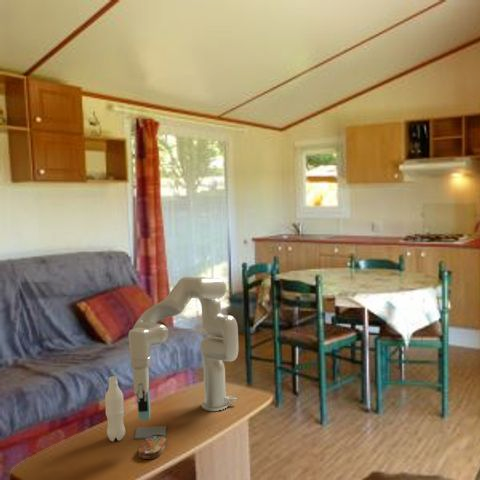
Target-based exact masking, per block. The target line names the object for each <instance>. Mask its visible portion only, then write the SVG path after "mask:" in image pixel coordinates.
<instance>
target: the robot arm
mask: <svg viewBox="0 0 480 480" xmlns="http://www.w3.org/2000/svg"><path fill="white" fill-rule="evenodd" d="M226 292H227V285H226V282H225V281H224V280H223V279H221V278H215V277H214V278H213V277H203V276H201V277H200V276H199V277H198V276H196V277H194V276H184V277H183V276H182V277H181V278H180V279H179V280H178V281H177V282H176V284H175V285H173V287H172V288H171V290H170V291H169V293H168V294H167V296H166V297H165V298H164V299H163V300H162V301H159V302H158V303H156V304H154V305H153V306H150V307H149V308H148V309H146V310H145V311H144V312H143V313H142V314H141V315H140V316H139V318H138V319H137V321H136V322H135V323H134V325H133V327H132V329H130V330H129V331H128V345H129V346H128V347H129V362H130V368H131V369H133V374H132V379H133V381H132V382H133V394H134V395H135V396H137V393H138V402H137V406H138V405H139V412H144V411H148V406H147V400H146V393H147V392H148V387H149V386H150V373H149V371H150V370H149V367H150V366H151V365H152V359H151V358H152V356H151V346H155V345H159V344H162V343H164V342H165V341H166V340H167V339H168V338H169V329H168V327H167V326H166V325H164V324H163V323H158V322H159V321H162V320H165V319H169V318H172V317H176V316H178V315H180V314H181V313H182V312H183V311H184V309H185V308H186V306H187V305H188V304H189V302H190V301H191V300H192V299H198V301H199V303H200V305H201V306H200V307H201V319H202V322H201V323H202V329H203V332H204V333H205V334H207V335H211V336H206V337H205V338H203V339H202V340H201V342H200V346H199V347H200V348H199V350H200V355H201V358H202V359H201V360H202V365H203V388H204V390H203V391H204V392H203V393H204V401H202V402H201V405H200V406H201V409H202V410H205V411H208V412H219V410H221V411H224V410H226V409H228V408H229V407H230V403H231V402H232V403H233V402H234V403H235V402H237V398H236V396H235V397H234V395H227V392H226V391H227V390H226V369H225V364H224V362H234V361H236V360H237V358H238V355H239V329H238V322H237V320H236V318H235V317H234V316H232V315H229V314H223V313H222V305H221V300H220V299H222V298H223V297H224V296H225V295H226ZM218 336H219V337H218ZM149 388H150V387H149ZM143 391H145V393H143ZM143 395H144V396H143ZM228 406H229V407H228ZM227 407H228V408H227ZM225 408H226V409H225ZM223 409H224V410H223Z"/></svg>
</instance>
